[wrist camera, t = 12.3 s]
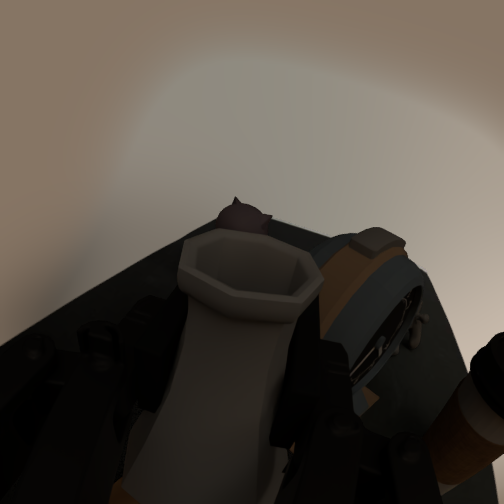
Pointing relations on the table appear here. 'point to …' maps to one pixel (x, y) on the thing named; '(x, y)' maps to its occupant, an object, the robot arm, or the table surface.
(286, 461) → the flask
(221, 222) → the cat figurine
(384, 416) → the table surface
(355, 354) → the alarm clock
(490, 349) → the coffee cup
